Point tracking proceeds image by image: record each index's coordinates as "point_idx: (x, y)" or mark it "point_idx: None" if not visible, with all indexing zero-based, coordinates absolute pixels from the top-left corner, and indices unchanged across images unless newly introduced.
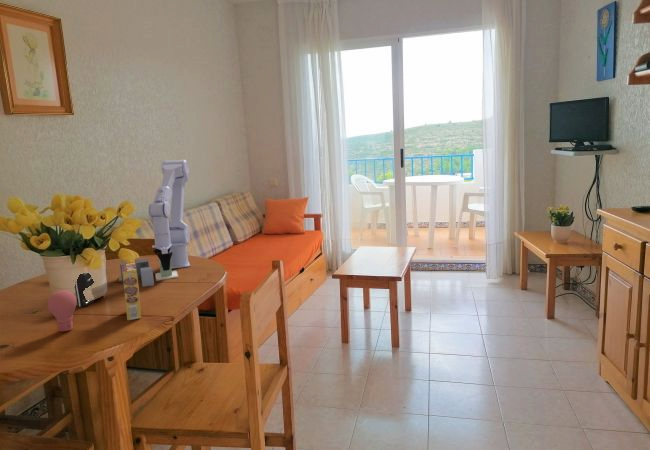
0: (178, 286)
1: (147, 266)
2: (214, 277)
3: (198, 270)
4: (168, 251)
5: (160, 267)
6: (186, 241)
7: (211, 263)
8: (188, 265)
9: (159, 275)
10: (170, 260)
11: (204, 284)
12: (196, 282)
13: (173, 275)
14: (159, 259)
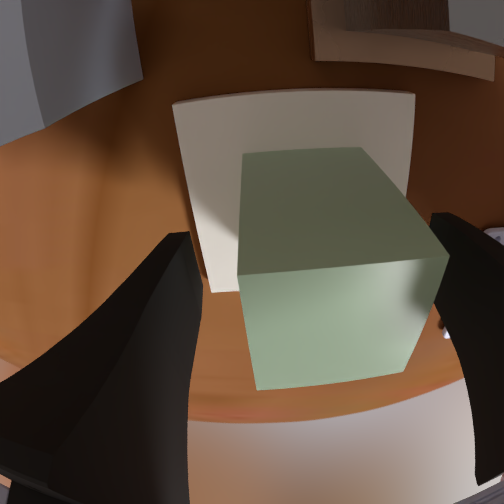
0: (18, 279)
1: (396, 7)
2: None
3: None
4: (478, 422)
5: (240, 212)
6: (500, 481)
7: (409, 395)
8: (446, 332)
9: (311, 133)
10: (258, 387)
11: None
12: None
13: None
14: (429, 263)
